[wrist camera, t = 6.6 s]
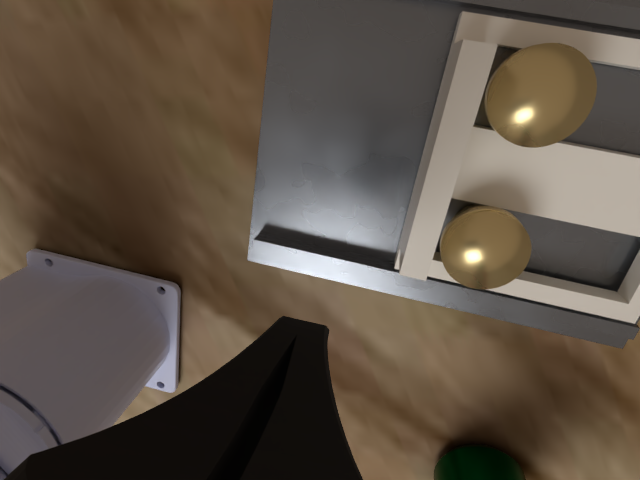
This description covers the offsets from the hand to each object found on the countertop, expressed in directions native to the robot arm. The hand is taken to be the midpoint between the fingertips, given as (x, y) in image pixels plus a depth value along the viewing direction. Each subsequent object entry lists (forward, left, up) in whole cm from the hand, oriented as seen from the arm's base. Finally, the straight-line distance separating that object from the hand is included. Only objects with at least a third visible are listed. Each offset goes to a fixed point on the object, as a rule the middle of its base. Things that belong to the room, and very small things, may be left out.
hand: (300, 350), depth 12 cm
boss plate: (+5, +5, -10) cm, 12 cm away
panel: (+8, +5, -8) cm, 12 cm away
